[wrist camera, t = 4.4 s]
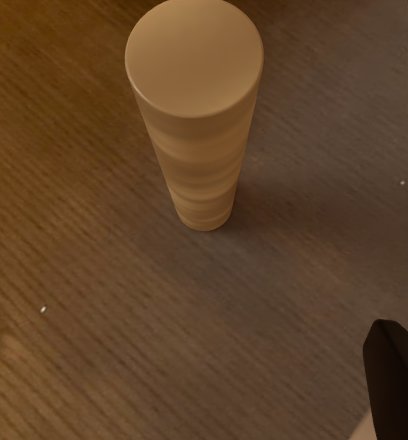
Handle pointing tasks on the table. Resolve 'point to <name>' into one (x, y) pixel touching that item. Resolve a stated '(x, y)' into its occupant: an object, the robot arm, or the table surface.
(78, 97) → the table surface
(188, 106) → the stick
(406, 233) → the table surface
